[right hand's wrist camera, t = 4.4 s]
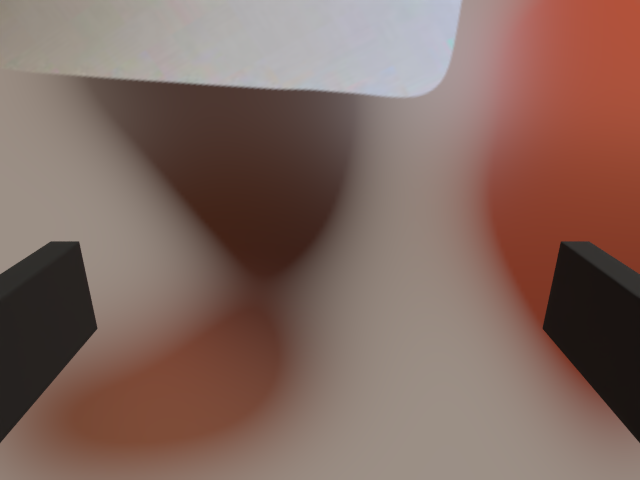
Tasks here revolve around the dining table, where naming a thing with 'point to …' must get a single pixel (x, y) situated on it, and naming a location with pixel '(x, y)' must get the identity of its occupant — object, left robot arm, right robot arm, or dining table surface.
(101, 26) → the dining table surface
